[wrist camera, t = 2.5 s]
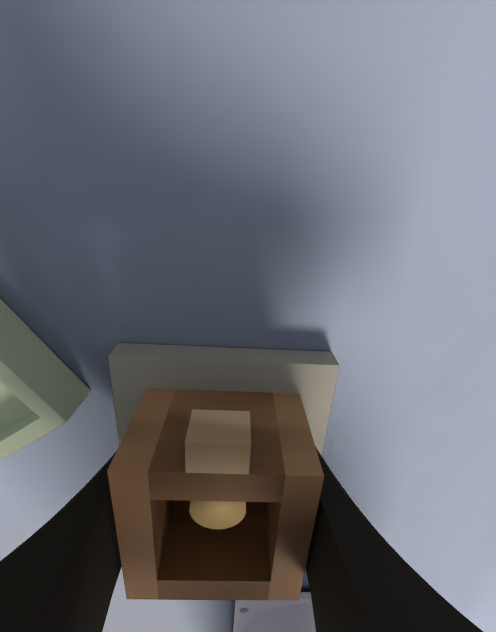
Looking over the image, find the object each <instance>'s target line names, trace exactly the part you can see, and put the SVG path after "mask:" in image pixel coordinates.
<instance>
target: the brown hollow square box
mask: <svg viewBox="0 0 496 632" xmlns="http://www.w3.org/2000/svg"><path fill="white" fill-rule="evenodd" d="M107 473H108V479H109V486H110V493H111V499H112V506H113V512H114V519H115V525H116V532H117V539H118V545H119V552H120V558H121V565H122V571H123V578H124V584H125V591H126V598H127V599H167V600H286V601H299V597H300V592H301V587H302V582H303V577H304V572H305V567H306V562H307V558H308V553H309V548H310V543H311V538H312V533H313V528H314V523H315V519H316V514H317V509H318V504H319V499H320V494H321V489H322V484H323V480H324V474H323V470H322V467H321V464H320V460H319V457H318V454H317V450H316V447H315V443H314V440H313V437H312V433H311V430H310V426H309V423H308V420H307V416H306V413H305V410H304V406H303V403H302V399H301V396H300V394H294V393H266V392H239V391H211V390H184V389H156V388H147V390H146V392H145V394H144V396H143V398H142V400H141V402H140V404H139V406H138V409H137V411H136V413H135V415H134V417H133V419H132V421H131V423H130V425H129V427H128V429H127V431H126V433H125V435H124V437H123V439H122V441H121V443H120V445H119V448H118V450H117V452H116V454H115V456H114V458H113V460H112V462H111V464H110V466H109V468H108V470H107ZM190 501H231V502H246V514H245V516H244V518H243V519H242V521H241V522H239V523H238V524H237V525H235V526H233V527H230V528H226V529H210V528H206V527H203V526H201V525H199V524H198V523H196V522H195V521H194V520H193V519H192V517H191V515H190V512H189V507H190Z"/></svg>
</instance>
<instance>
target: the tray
mask: <svg viewBox="0 0 496 632" xmlns="http://www.w3.org/2000/svg"><path fill="white" fill-rule="evenodd" d="M90 391H91V390H90V389H89V388H88V387H87V386H86V385H85V384H84V383H83V382H82V381H81V380H80V379H79V378H78V377H77V376H76V375H75V374H74V373H73V372H72V371H71V370H70V369H69V368H68V367H67V366H66V365H65V364H64V363H63V362H62V361H61V360H60V359H59V358H58V357H57V356H56V355H55V354H54V353H53V352H52V351H51V350H50V349H49V348H48V347H47V346H46V345H45V344H44V342H43V341H42V340H41V339H40V338H39V337H38V336H37V335H36V334H35V333H34V332H33V331H32V330H31V329H30V328H29V327H28V326H27V325H26V324H25V323H24V322H23V321H22V320H21V319H20V318H19V317H18V316H17V315H16V314H15V313H14V312H13V311H12V310H11V309H10V308H9V307H8V306H7V305H6V304H5V303H4V302H3V301H2V300H1V299H0V460H2V459H4V458H5V457H7V456H9V455H11V454H12V453H14V452H16V451H18V450H19V449H21V448H23V447H24V446H26V445H28V444H30V443H31V442H33V441H35V440H36V439H38V438H40V437H42V436H43V435H45V434H47V433H49V432H50V431H52V430H54V429H55V428H57V427H59V426H61V425H62V424H64V423H66V422H67V421H68V419H69V418H70V417H71V415H72V414H73V413H74V412H75V410H76V409H77V408H78V406H79V405H80V404H81V403H82V401H83V400H84V399H85V397H86V396H87V395H88V393H89V392H90Z"/></svg>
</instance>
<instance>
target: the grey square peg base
mask: <svg viewBox="0 0 496 632" xmlns="http://www.w3.org/2000/svg"><path fill="white" fill-rule="evenodd" d="M108 360H109V368H110V376H111V384H112V392H113V400H114V407H115V415H116V423H117V431H118V439H119V445H120V443H121V441H122V439H123V437H124V435H125V433H126V431H127V429H128V427H129V425H130V423H131V421H132V419H133V417H134V415H135V413H136V411H137V409H138V406H139V404H140V402H141V400H142V398H143V396H144V394H145V392H146V390H147V388H156V389H184V390H211V391H239V392H266V393H294V394H300V396H301V399H302V403H303V406H304V410H305V413H306V416H307V420H308V423H309V426H310V430H311V433H312V437H313V440H314V443H315V446H316V448H317V449H318V451H319V453H320V454H321V456H322V452H323V447H324V442H325V437H326V431H327V426H328V421H329V416H330V411H331V406H332V401H333V395H334V390H335V385H336V380H337V375H338V370H339V364H338V362H337V360H336V359H335V357H334V355H333V353H332V352H326V351H302V350H279V349H255V348H231V347H208V346H184V345H160V344H136V343H118V345H117V346H116V347H115V348H114V349H113V351H112V352H111V353H110V354H109V355H108ZM189 512H190V515H191V517H192V519H193V520H194V521H195V522H196V523H198V524H199V525H201V526H203V527H206V528H210V529H226V528H230V527H233V526H235V525H237V524H238V523H239V522H241V521H242V519H243V518H244V516H245V514H246V502H231V501H190V507H189Z"/></svg>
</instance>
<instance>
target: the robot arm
mask: <svg viewBox="0 0 496 632" xmlns="http://www.w3.org/2000/svg"><path fill="white" fill-rule="evenodd" d="M315 447H316V446H315ZM316 450H317V454H318V457H319V460H320V464H321V467H322V470H323V474H324V480H323V484H322V489H321V494H320V499H319V504H318V509H317V514H316V519H315V523H314V528H313V533H312V538H311V543H310V548H309V553H308V558H307V562H306V572H307V576H308V582H309V587H310V592H300V597H299V601H286V600H235V611H234V625H233V632H483V631H482V630H480V629H479V628H478V627H477V626H475V625H474V624H473V623H472V622H471V621H469V620H468V619H467V618H466V617H465V616H463V615H462V614H461V613H460V612H459V611H457V610H456V609H455V608H454V607H453V606H452V605H451V604H450V603H448V602H447V601H446V600H445V599H444V598H443V597H442V596H441V595H440V594H438V593H437V592H436V591H435V590H434V589H433V588H432V587H431V586H430V585H429V584H428V583H427V582H426V581H425V580H424V579H423V578H422V577H421V576H420V575H419V574H418V573H417V572H416V571H415V570H413V569H412V568H411V567H410V566H409V565H408V564H407V563H406V562H405V561H404V560H403V559H402V558H401V557H400V555H399V554H398V553H397V552H396V551H395V550H394V549H393V548H392V547H391V546H390V545H389V544H388V543H387V542H386V540H385V539H384V538H383V537H382V536H381V535H380V534H379V533H378V531H377V530H376V529H375V528H374V527H373V526H372V524H371V523H370V522H369V521H368V520H367V518H366V517H365V516H364V515H363V513H362V512H361V511H360V510H359V508H358V507H357V506H356V505H355V503H354V502H353V501H352V499H351V498H350V497H349V495H348V494H347V493H346V491H345V490H344V488H343V487H342V486H341V484H340V483H339V481H338V480H337V479H336V477H335V476H334V474H333V473H332V471H331V470H330V468H329V467H328V465H327V464H326V462H325V461H324V459H323V457H322V456H321V454H320V453H319V451H318V449H317V448H316ZM116 452H117V451H116ZM116 452H115V454H116ZM115 454H114V455H113V456H112V457H111V458H110V459H109V460H108V462H107V463H106V464H105V465H104V466H103V467H102V468H101V469H100V470H99V471H98V472H97V474H96V475H95V476H94V477H93V478H92V479H91V480H90V481H89V482H88V483H87V484H86V485H85V486H84V487H83V488H82V489H81V490H80V491H79V492H78V493H77V494H76V495H75V496H74V497H73V498H72V499H71V500H70V501H69V502H68V503H67V504H66V505H65V506H64V507H63V508H62V509H61V510H60V511H59V512H58V513H57V514H56V515H55V516H53V517H52V518H51V519H50V520H49V521H48V522H47V523H46V524H45V525H43V526H42V527H41V528H40V529H39V530H38V531H37V532H35V533H34V534H33V535H32V536H31V537H30V538H28V539H27V540H26V541H25V542H23V543H22V544H21V545H20V546H19V547H17V548H16V549H15V550H14V551H13V552H11V553H10V554H9V555H8V556H6V557H5V558H4V559H3V560H1V561H0V632H102V630H103V626H104V623H105V619H106V615H107V612H108V608H109V605H110V601H111V597H112V594H113V590H114V587H115V584H116V581H117V578H118V575H119V572H120V569H121V567H122V565H121V558H120V552H119V545H118V539H117V532H116V525H115V519H114V512H113V506H112V499H111V493H110V486H109V479H108V473H107V470H108V468H109V466H110V464H111V462H112V460H113V458H114V456H115Z"/></svg>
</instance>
